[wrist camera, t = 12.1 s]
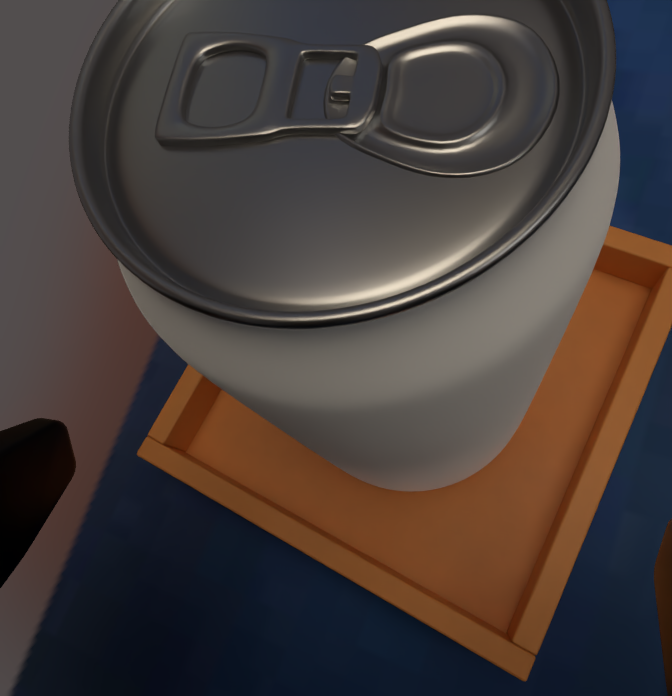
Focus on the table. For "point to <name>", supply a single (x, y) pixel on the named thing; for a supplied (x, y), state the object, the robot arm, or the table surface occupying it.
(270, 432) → the tray
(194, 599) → the table surface
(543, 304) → the can
